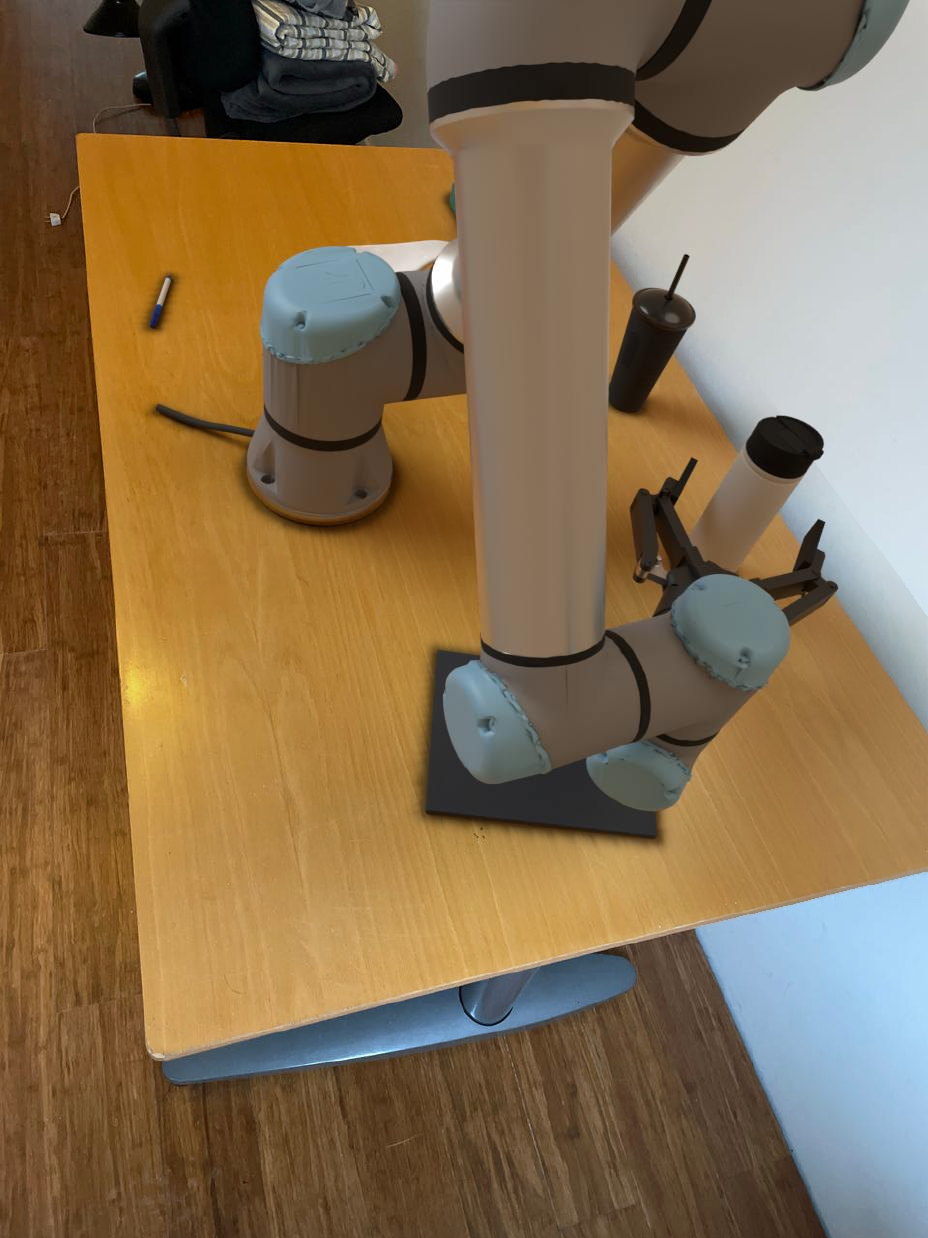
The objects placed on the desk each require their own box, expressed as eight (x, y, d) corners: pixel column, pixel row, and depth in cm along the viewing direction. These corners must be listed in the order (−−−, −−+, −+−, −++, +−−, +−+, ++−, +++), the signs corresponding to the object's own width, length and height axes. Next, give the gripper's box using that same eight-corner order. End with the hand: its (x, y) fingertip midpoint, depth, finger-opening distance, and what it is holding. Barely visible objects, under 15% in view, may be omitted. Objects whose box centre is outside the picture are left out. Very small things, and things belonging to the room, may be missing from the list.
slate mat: (425, 812, 67) (426, 810, 67) (436, 652, 77) (437, 649, 76) (655, 838, 70) (657, 836, 69) (638, 680, 79) (641, 677, 79)
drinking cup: (651, 426, 103) (719, 283, 87) (593, 410, 103) (651, 263, 87) (654, 390, 108) (720, 248, 92) (599, 374, 107) (655, 228, 91)
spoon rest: (319, 329, 102) (321, 276, 96) (297, 274, 108) (298, 222, 102) (491, 319, 110) (503, 270, 104) (462, 269, 116) (472, 220, 110)
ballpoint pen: (157, 329, 97) (156, 322, 96) (149, 328, 97) (148, 321, 96) (172, 279, 103) (171, 272, 102) (164, 278, 103) (163, 271, 102)
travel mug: (700, 598, 87) (794, 461, 71) (665, 553, 90) (748, 412, 74) (743, 583, 90) (843, 448, 74) (707, 540, 93) (796, 400, 77)
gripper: (546, 601, 74) (626, 470, 86) (803, 736, 70) (847, 579, 83) (570, 547, 68) (652, 415, 80) (852, 692, 64) (891, 530, 77)
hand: (751, 498), depth 81 cm, fingers open, 13 cm apart
